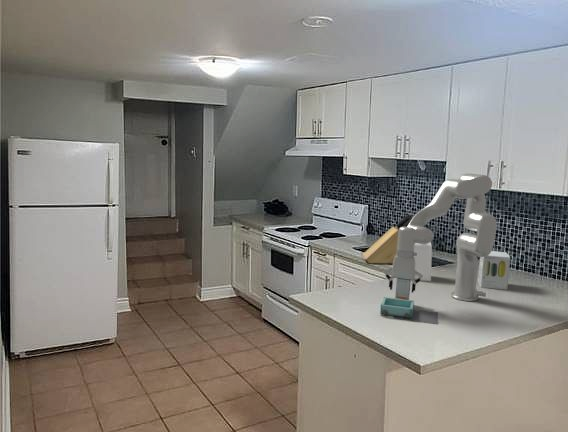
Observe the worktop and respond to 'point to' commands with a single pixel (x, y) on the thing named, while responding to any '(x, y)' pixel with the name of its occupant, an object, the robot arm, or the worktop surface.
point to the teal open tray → (397, 307)
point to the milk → (423, 260)
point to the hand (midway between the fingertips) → (401, 290)
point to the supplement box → (494, 270)
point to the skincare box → (402, 289)
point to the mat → (420, 316)
